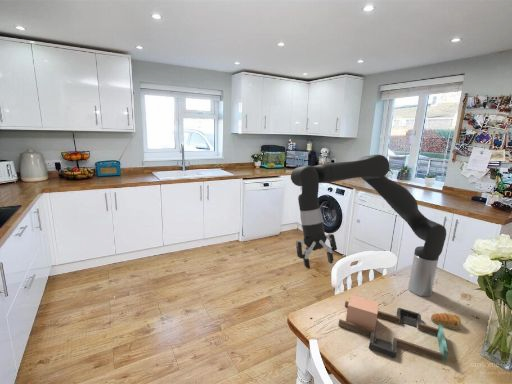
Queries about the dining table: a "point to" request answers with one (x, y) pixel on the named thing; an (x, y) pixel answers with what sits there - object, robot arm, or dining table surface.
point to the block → (362, 312)
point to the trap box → (385, 346)
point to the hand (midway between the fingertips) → (319, 265)
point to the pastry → (447, 320)
